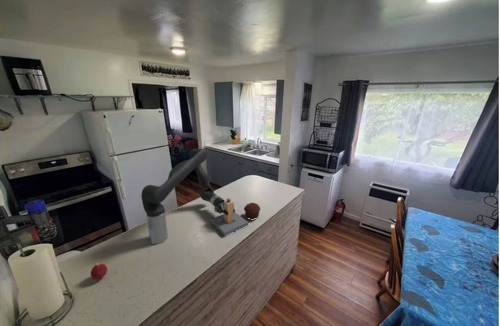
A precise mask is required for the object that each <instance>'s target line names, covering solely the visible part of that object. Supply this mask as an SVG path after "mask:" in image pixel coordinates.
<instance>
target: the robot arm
mask: <svg viewBox="0 0 500 326" xmlns="http://www.w3.org/2000/svg"><path fill="white" fill-rule="evenodd" d="M207 157H208V151H207V150H206V149H205V148H193V149H190V150H189V159H185V160H183V161H182V162H180V163H178V164H176V165H175V166H174V167H173V168H172V169H170V171H169V173H168V177H167V180H166V181H165V182H164V183H162V184H161V185H159V186H158V185H152V184H148V185H145V186H144V187H143V189H142V191H141V194H140V197H141V201H142V206H143V210H144V212H145V213H146V219H147V229H148V237H149V241H150V242H151V245H159V244H161V243H163V242H166V240H168V238H169V234H168V226H167V218H166V212H165V206H164V205H163V204H162V202H164V200H166V198H167V197H168V196H169V195H170V194H171V193H172V191H173V190H174V189H175V188H176V187H177V186H178V185H179V184H180V183H181V182H182V181H183V180H185V178H187V177H188V176H189V175H190V173H192V172H193V171H194V170H195V172H196V175H197V179H198V182H199V183H198V184H199V187H200V188H201V189H204V190H201V191H200V192H199V197H200V198H201V200H203V201H205V202H208V203H210V204H211V205H212V206H213V208H214V212H215V213H217V214H219V215H220V214H221V215H222V214H225V215H228V212H227V211H226V210H225V209H224V201H226V199H224V198H222V197H220V196H219V195H217V194H216V193H215V191H214V189H213V188H212V186H211V183H210V181H209V176H208V174H207V172H206V171H205V169H204V168H203V167H202V165H201V164H202V163H204V162H205V161H206V160H207ZM234 212H235V213H236V209H235V208H234V210H233V213H234Z"/></svg>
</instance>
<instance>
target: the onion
mask: <svg viewBox="0 0 500 326" xmlns="http://www.w3.org/2000/svg"><path fill="white" fill-rule="evenodd" d="M107 272H108V267H107V265H106V264H105V263H95V265H94V266H93V267H92V268H91V271H90V277H91V278H92V279H94V280H99V279H102V278H104V277H105V276H106V275H107Z"/></svg>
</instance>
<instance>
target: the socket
mask: <svg viewBox="0 0 500 326" xmlns="http://www.w3.org/2000/svg"><path fill="white" fill-rule="evenodd" d="M209 222H211V223H212V224H213V225H214V226H215V227H216V228H217V229H218V230H219V231H220V232H221V233H222V234H223V235H224V236H226V235H228V234H230V233H232V232H234V231H236V230H239V229H241V228H243V227H245V226H247V225H248V226H249V221H248V220H246V219H244V218H243V216H240V215H239V213H237V212H236V211H235V212H234V222H233V223H230V224H228V225H227V224H226V223H225V222H224V213H222V214H221V215H220V214H219V215H218V216H215V217H213V218H210V221H209ZM211 223H210V224H211ZM212 224H211V225H212ZM213 225H212V226H213ZM214 226H213V227H214ZM248 226H247V227H248ZM215 227H214V228H215ZM216 228H215V229H216ZM245 228H246V227H245ZM217 229H216V230H217ZM243 229H244V228H243ZM218 230H217V231H218ZM241 230H242V229H241ZM219 231H218V232H219ZM239 231H240V230H239ZM220 232H219V233H220ZM221 233H220V234H221ZM234 233H235V232H234ZM222 234H221V235H222ZM232 234H233V233H232ZM223 235H222V236H223ZM230 235H231V234H230ZM224 236H223V237H224ZM228 236H229V235H228ZM226 237H227V236H226Z"/></svg>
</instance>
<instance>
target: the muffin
mask: <svg viewBox="0 0 500 326" xmlns="http://www.w3.org/2000/svg"><path fill="white" fill-rule="evenodd" d="M243 210H244V213H245V218H246V217H247V218H250V219H254V218H257V217H258V218H259V215H260V211H261V206H259V204H257V203H255V202H250V203H247V204H246V205H245V206H244V208H243ZM247 218H246V219H247ZM258 218H257V219H258Z"/></svg>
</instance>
